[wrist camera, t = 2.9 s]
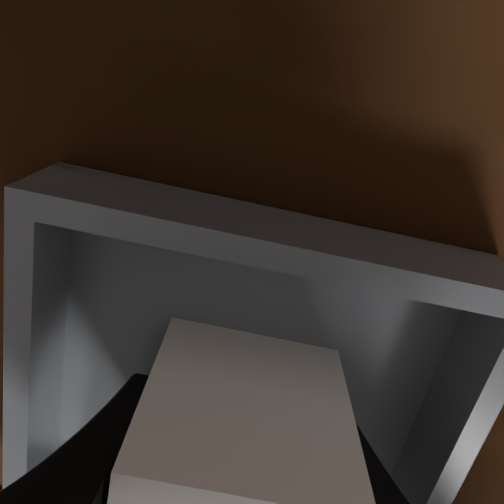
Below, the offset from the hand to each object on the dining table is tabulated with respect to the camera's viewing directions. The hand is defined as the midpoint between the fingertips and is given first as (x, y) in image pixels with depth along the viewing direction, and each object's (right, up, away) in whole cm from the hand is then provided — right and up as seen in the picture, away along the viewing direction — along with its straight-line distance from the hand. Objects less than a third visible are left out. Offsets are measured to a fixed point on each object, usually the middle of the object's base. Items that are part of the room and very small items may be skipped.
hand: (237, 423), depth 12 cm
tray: (0, +1, +1) cm, 1 cm away
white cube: (0, 0, +1) cm, 1 cm away
